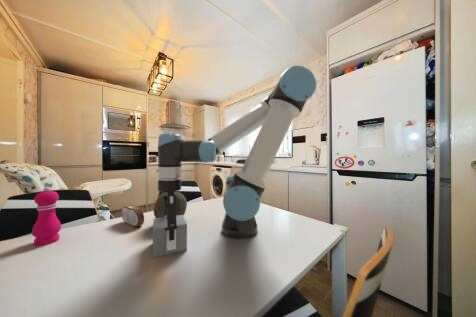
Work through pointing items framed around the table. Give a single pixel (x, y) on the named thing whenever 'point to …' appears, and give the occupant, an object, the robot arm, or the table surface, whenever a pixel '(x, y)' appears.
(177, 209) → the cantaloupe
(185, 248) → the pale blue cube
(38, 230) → the pepper mill
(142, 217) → the tin
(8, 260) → the table surface
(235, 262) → the table surface
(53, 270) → the table surface
